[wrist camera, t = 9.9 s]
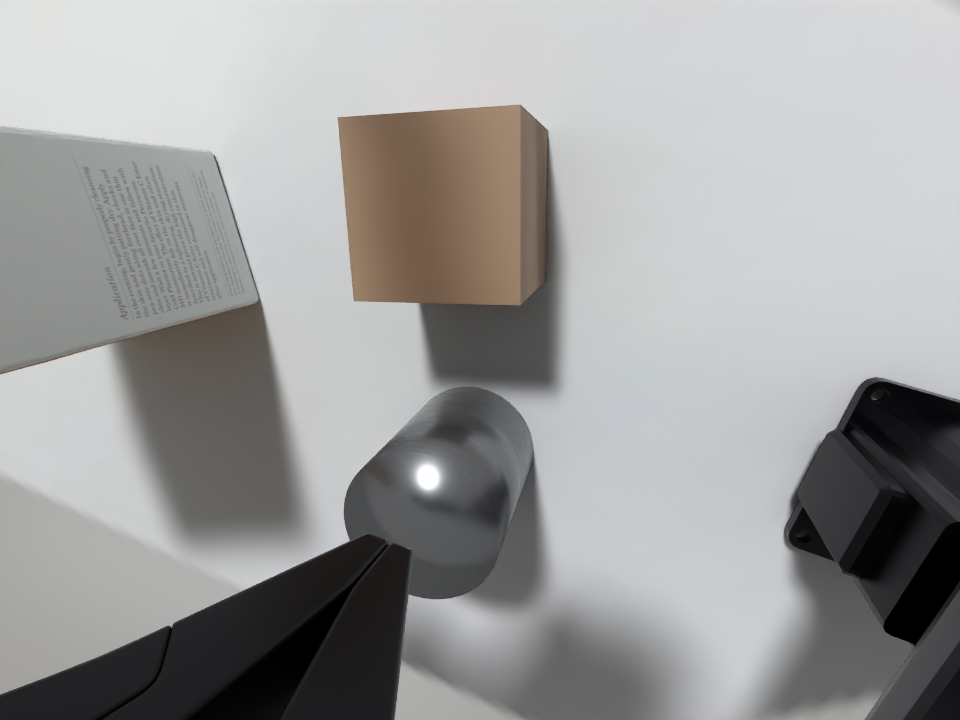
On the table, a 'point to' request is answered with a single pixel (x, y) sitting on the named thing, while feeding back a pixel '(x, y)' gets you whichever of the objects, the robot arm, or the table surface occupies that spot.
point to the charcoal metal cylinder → (446, 489)
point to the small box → (109, 243)
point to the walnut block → (446, 205)
